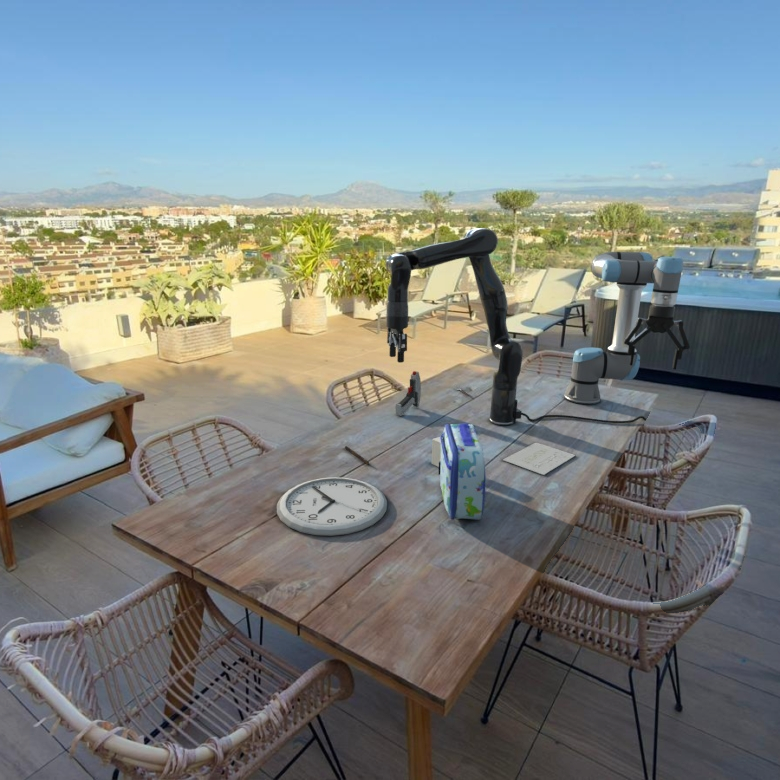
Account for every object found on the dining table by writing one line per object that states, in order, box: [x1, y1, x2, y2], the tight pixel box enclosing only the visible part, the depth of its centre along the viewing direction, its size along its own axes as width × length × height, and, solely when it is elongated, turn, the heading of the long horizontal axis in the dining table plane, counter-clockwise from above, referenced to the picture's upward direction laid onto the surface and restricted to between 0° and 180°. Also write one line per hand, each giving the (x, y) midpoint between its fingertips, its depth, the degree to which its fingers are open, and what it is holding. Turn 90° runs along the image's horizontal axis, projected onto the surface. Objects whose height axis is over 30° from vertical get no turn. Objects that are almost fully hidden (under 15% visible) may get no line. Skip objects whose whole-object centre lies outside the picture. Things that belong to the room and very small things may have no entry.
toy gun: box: [395, 370, 422, 417], centre depth 214 cm, size 2×16×15 cm
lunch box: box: [438, 422, 486, 521], centre depth 142 cm, size 26×11×21 cm, turn 179°
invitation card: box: [502, 442, 577, 476], centre depth 174 cm, size 21×1×15 cm
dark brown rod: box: [344, 445, 370, 465], centre depth 173 cm, size 15×1×1 cm, turn 34°
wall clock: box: [276, 476, 388, 537], centre depth 142 cm, size 30×2×30 cm
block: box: [430, 436, 441, 468], centre depth 167 cm, size 4×5×9 cm
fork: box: [453, 383, 470, 397], centre depth 242 cm, size 3×16×2 cm, turn 16°
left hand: (396, 359), depth 186 cm, fingers open, 8 cm apart
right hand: (652, 366), depth 181 cm, fingers open, 13 cm apart
